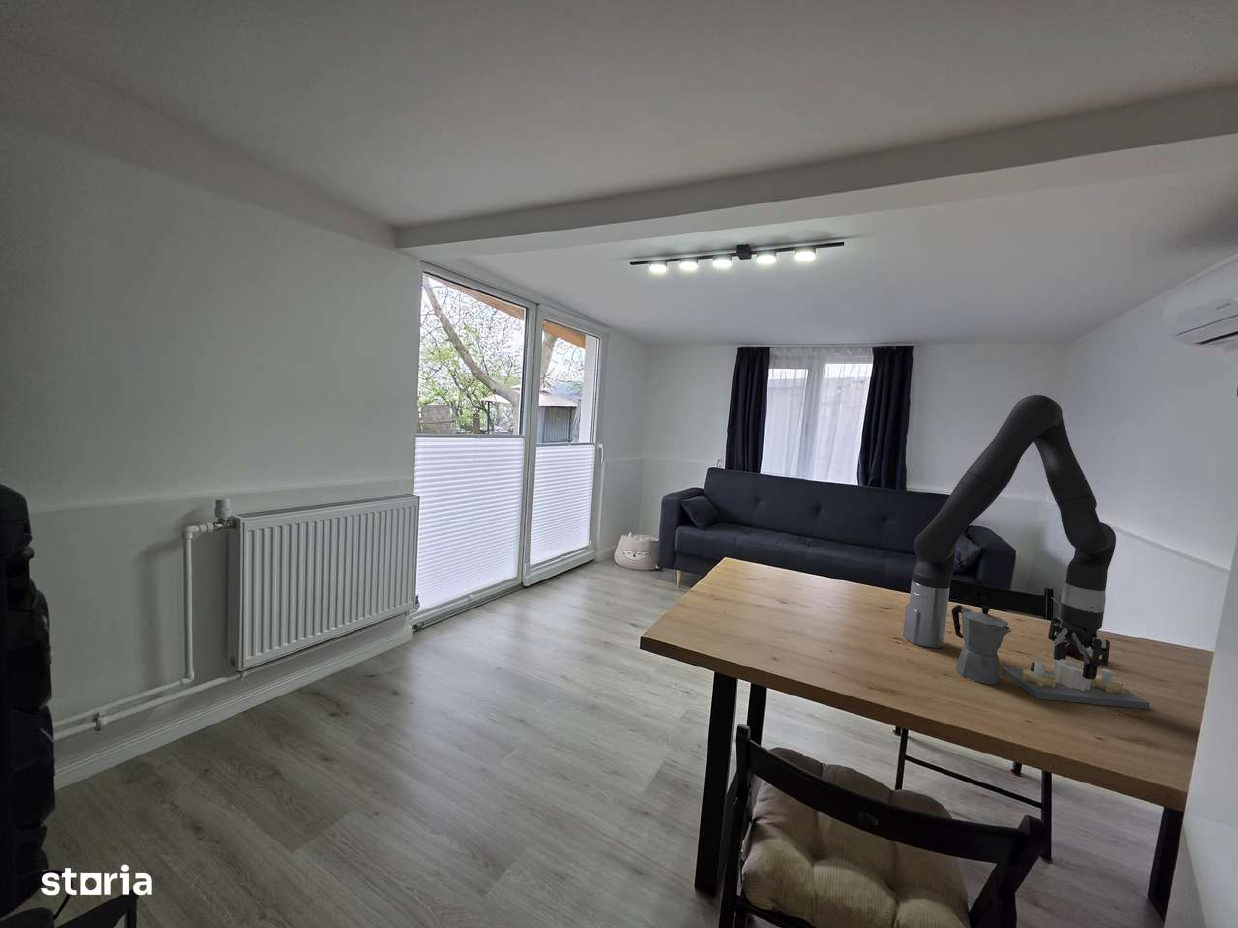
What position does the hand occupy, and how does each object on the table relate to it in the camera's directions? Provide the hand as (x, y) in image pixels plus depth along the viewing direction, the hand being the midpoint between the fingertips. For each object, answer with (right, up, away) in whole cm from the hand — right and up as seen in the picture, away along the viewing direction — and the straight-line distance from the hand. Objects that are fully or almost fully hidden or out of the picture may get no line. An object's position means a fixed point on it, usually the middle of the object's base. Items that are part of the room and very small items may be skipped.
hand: (1073, 669), depth 119 cm
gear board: (0, -5, 0) cm, 5 cm away
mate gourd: (+18, -5, +21) cm, 28 cm away
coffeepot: (-20, -4, +6) cm, 21 cm away
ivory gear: (0, -4, 0) cm, 4 cm away
